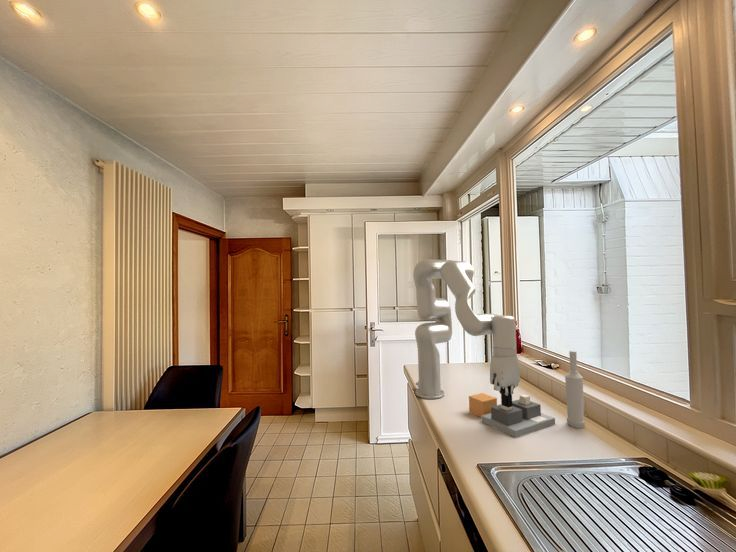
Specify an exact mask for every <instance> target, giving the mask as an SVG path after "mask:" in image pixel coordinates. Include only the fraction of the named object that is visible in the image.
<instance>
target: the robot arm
mask: <svg viewBox="0 0 736 552" xmlns="http://www.w3.org/2000/svg"><path fill="white" fill-rule="evenodd" d="M412 273H413V274H412V275H413V276H412V277H413V282H414V285H415V296H416V309H417V310H416V311H417V316H418V318H419V319H421V320H424V321H429V320H435V322H433V321H432V322H425V323H421V324H419V325H417V327H416V328H415V332H414V336H415V340H416V347H417V348H416V349H417V363H418V364H417V365H418V366H417V367H418V368H417V369H418V381H416V382H415V385H416V386H417V389H415V395H416V396H417V397H418V398H421V399H427V400H431V399H432V400H434V399H435V400H436V399H440V398H443V397H444V396H445V391H444V390H443V389H441V359H440V357H441V355H440V352H439V349H438V348H437V346H436V345H437V344H443V343H446V342H449V341H450V340H451V339H452V337H453V322H452V321H453V318H452V309H451V305H450V303H449V302H448V300H446V299H445V298H443V297H436V287H435V286H434V284H433V282H432V281H431V280H433V279H434V280H435V279H436V280H438V279H440V280H442V279H443V281H444V282H445V285H446V286H447V287H448V289H449V290H450V292H451V294H452V295H453V297H454V298H455V302H454V310H455V311H454V312H455V315H456V318H457V321H458V322H459V323H460V325H461V326H462V328H463V330H464V331H465V333H467V334H468V335H470V336H473V337H480V336H486V335H492V336H491V338H492V353H493V354H492V355H491V359H490V363H489V364H490V365H489V367H490V368H489V383H490V384H491V385H493V390H494V391H497V392H499V394H500V401H501V402H500V403H501V404H502V405H503V406H506V407H512V401H513V394H514V389H515V388H517V387H518V386H519V383H520V382H521V372H520V363H519V362H520V361H519V357H518V353H517V330H516V318H515V317H514V316H512V315H505V314H504V315H500V314H495V313H479V314H477V313H476V314H475V313H474V311H473V310H472V309H473V308H472V307H471V306H470V304H469V299H470V298H472V297H473V295H475V293H476V287H475V285H474V284H473V282H472V281H471V280H472V278H473V277H474V274H475V272H474V268H473V266H472V264H470V263H469V262H468V261H462V260H461V261H460V260H452V259H450V260H449V259H435V258H434V259H429V258H428V259H423V260H420V261H418V262H417V263H416V264H415V266H414V268H413V272H412Z"/></svg>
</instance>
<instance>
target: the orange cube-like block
mask: <svg viewBox="0 0 736 552" xmlns="http://www.w3.org/2000/svg"><path fill="white" fill-rule="evenodd" d="M497 405H498V398H497V397H494V396H492V395H489V394H486V393H483V392H481V393H477V394H473V395H468V406H469V413H471V414H473V415H475V416H477V417H479V418H481V419H482V415H486V414H490V413H491V407H493V406H497Z"/></svg>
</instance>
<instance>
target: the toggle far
mask: <svg viewBox="0 0 736 552" xmlns="http://www.w3.org/2000/svg"><path fill="white" fill-rule="evenodd" d="M519 399H520V404H523V405H529V404H530V401H531V396H530V395H527V394H519Z"/></svg>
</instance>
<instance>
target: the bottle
mask: <svg viewBox="0 0 736 552" xmlns="http://www.w3.org/2000/svg"><path fill="white" fill-rule="evenodd" d="M577 355H578V353H577V351H576V350H569V355H568V356H569V368H570V369H569V371H568V372H567V373H566V374H565V375H564V379H565V380H564V381H565V383H564V384H565V395H566V396H565V397H566V398H565V399H566V412H567V417H566V423H567V425H568V426H569V427H572V428H574V429H575V428H576V429H582V428H584V427H585V425H586V424H585V423H586V421H585V420H584V418H585V417H584V414H585V413H584V377H583V376H582V375H581V374H580V373H579V371H578V361H577Z"/></svg>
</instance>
